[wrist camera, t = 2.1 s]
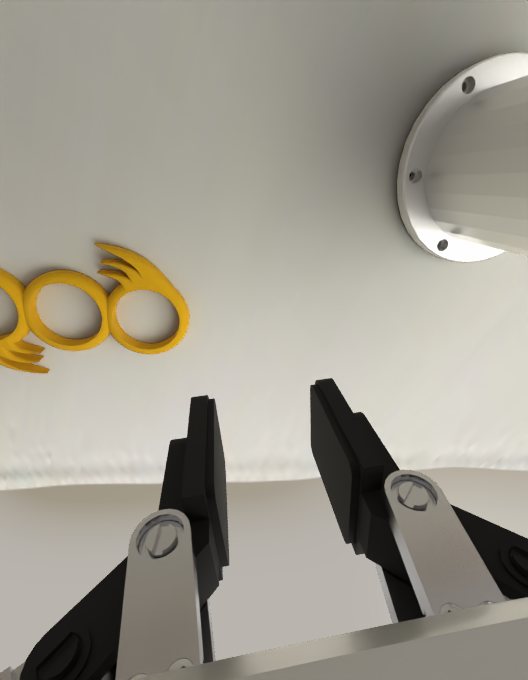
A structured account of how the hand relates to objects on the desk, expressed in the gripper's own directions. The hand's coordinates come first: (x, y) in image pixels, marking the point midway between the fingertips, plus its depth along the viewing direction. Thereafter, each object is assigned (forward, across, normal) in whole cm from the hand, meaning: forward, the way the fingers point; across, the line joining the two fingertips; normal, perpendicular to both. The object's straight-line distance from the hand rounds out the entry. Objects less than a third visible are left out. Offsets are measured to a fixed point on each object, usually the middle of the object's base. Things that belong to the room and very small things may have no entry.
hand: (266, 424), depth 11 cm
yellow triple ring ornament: (+16, +12, 0) cm, 20 cm away
